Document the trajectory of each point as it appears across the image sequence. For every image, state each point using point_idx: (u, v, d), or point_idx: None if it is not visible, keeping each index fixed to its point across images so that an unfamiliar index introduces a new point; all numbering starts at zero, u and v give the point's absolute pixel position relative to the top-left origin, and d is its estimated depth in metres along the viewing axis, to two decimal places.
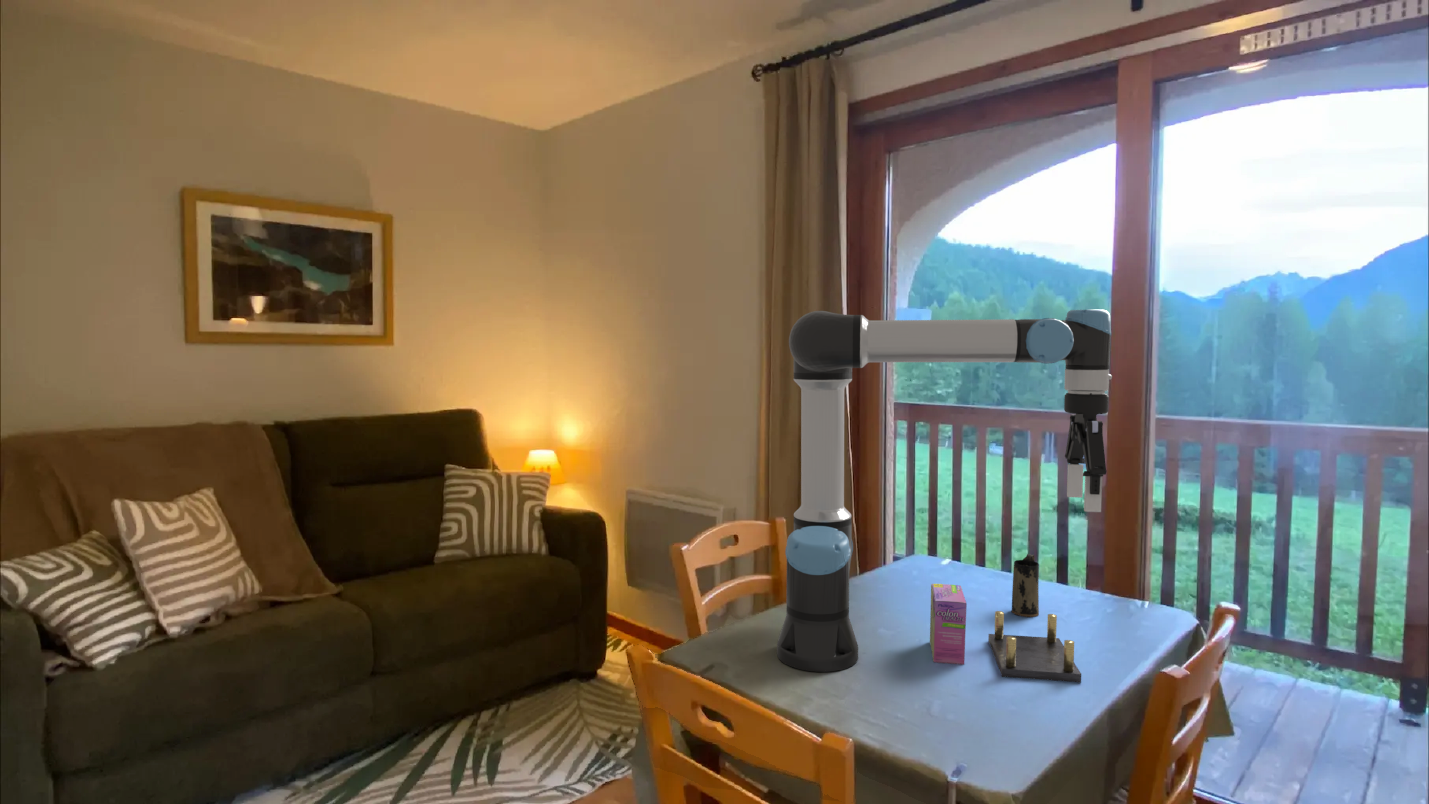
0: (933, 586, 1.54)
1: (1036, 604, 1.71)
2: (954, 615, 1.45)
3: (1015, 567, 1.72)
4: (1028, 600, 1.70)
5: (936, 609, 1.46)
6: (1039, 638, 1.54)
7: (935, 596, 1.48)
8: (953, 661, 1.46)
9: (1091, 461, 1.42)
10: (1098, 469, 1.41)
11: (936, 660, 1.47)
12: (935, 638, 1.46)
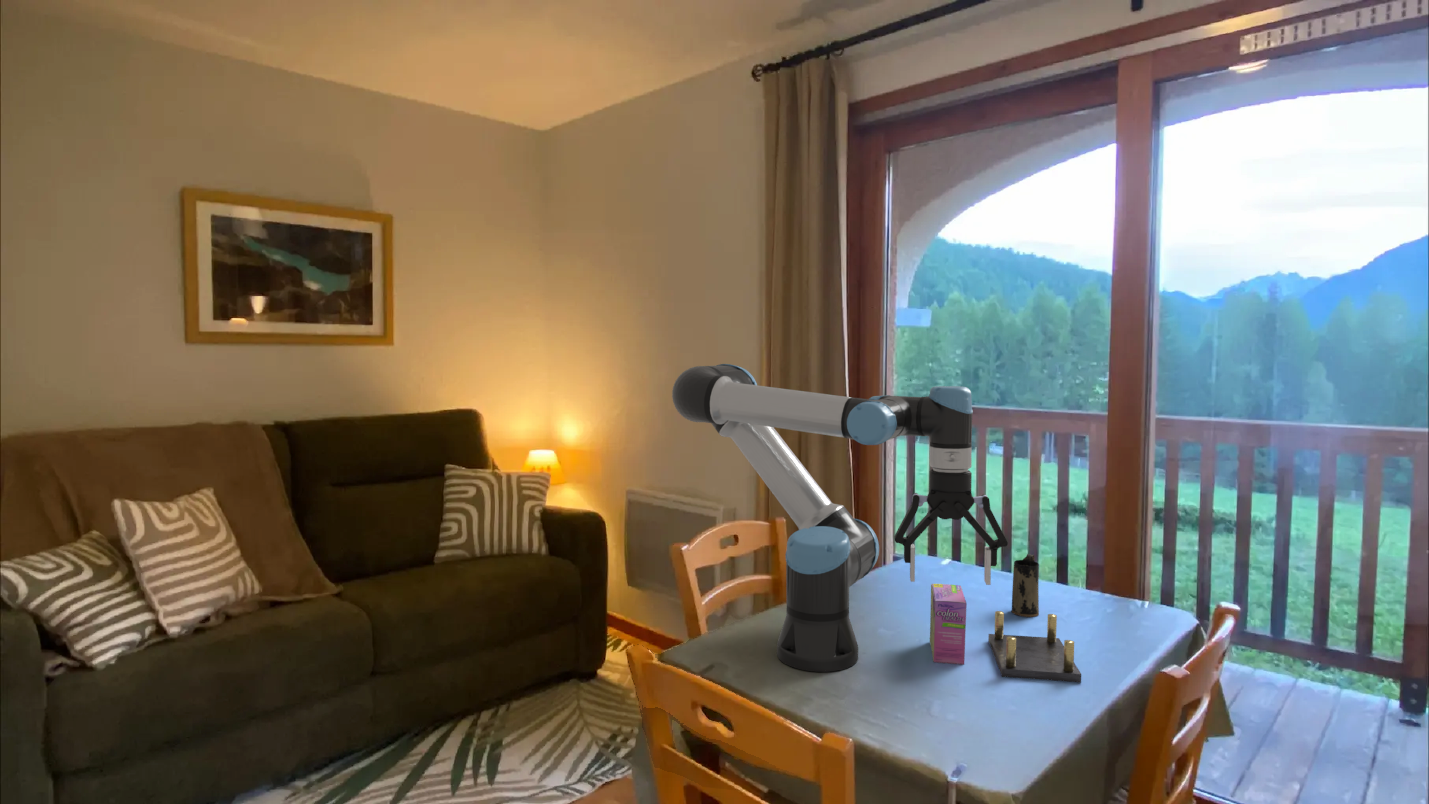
0: (933, 586, 1.54)
1: (1036, 604, 1.71)
2: (954, 615, 1.45)
3: (1015, 567, 1.72)
4: (1028, 600, 1.70)
5: (936, 609, 1.46)
6: (1039, 638, 1.54)
7: (935, 596, 1.48)
8: (953, 661, 1.46)
9: (898, 528, 1.52)
10: (895, 536, 1.52)
11: (936, 660, 1.47)
12: (935, 638, 1.46)
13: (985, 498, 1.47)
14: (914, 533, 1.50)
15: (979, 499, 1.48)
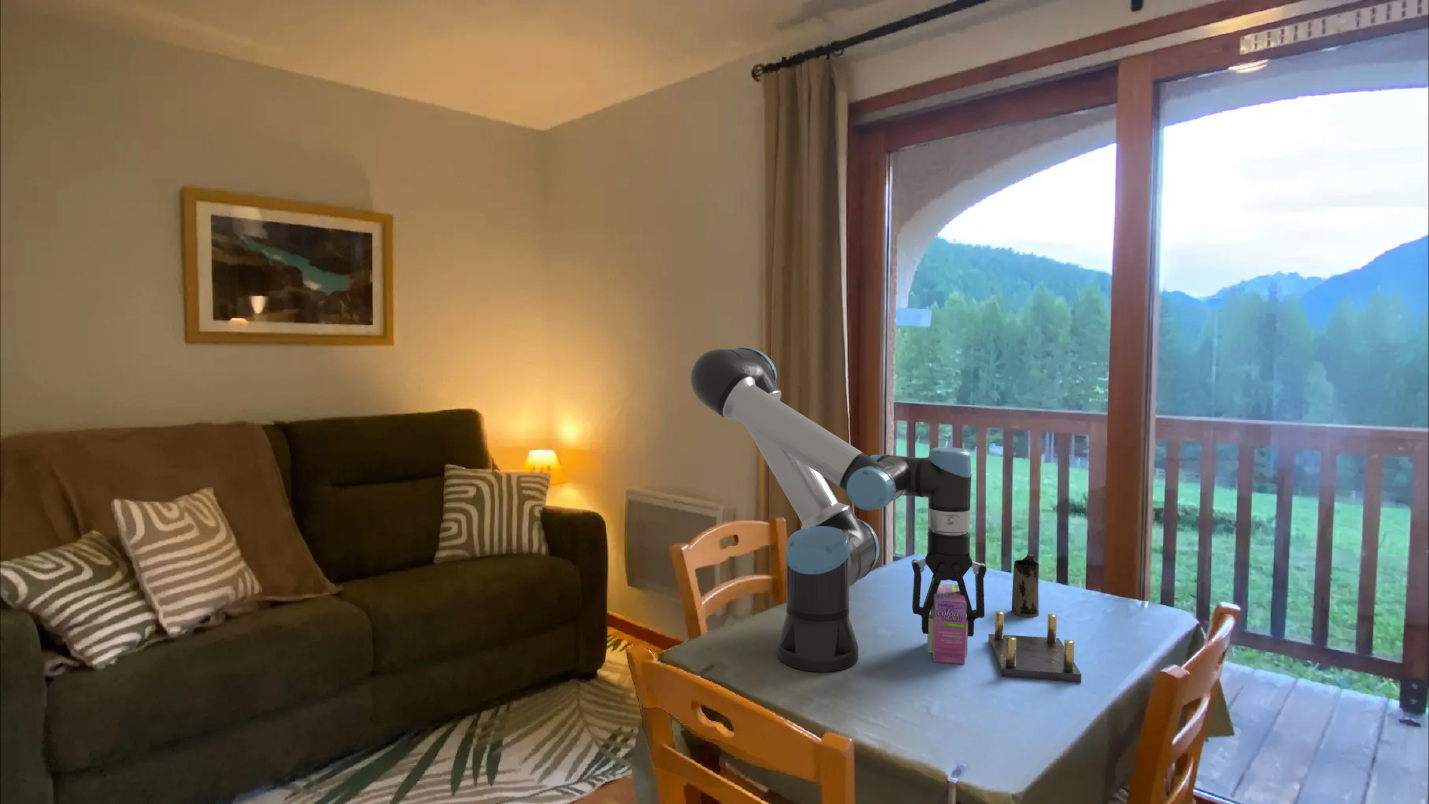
0: None
1: (1036, 604, 1.71)
2: (954, 614, 1.45)
3: (1015, 567, 1.72)
4: (1028, 600, 1.70)
5: (936, 609, 1.46)
6: (1039, 638, 1.54)
7: (935, 596, 1.48)
8: (953, 661, 1.46)
9: None
10: (913, 606, 1.52)
11: (936, 660, 1.47)
12: (935, 638, 1.46)
13: (983, 567, 1.48)
14: (927, 603, 1.50)
15: (977, 565, 1.49)
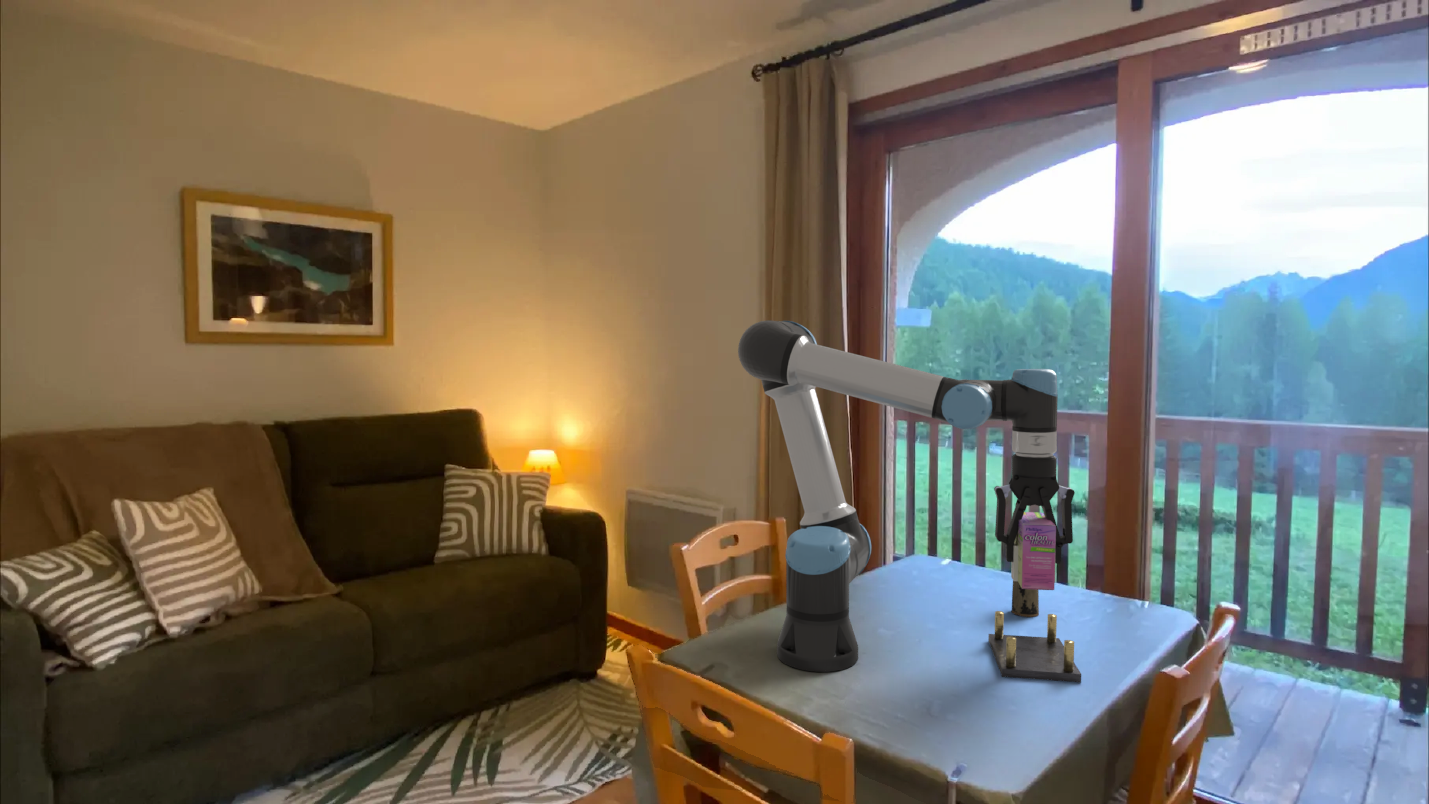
0: None
1: (1036, 604, 1.71)
2: (1043, 538, 1.40)
3: None
4: (1028, 600, 1.70)
5: (1024, 533, 1.41)
6: (1039, 638, 1.54)
7: (1021, 521, 1.43)
8: (1043, 587, 1.41)
9: None
10: (996, 534, 1.47)
11: (1024, 587, 1.42)
12: (1023, 563, 1.41)
13: (1071, 491, 1.43)
14: (1012, 529, 1.45)
15: (1064, 489, 1.44)
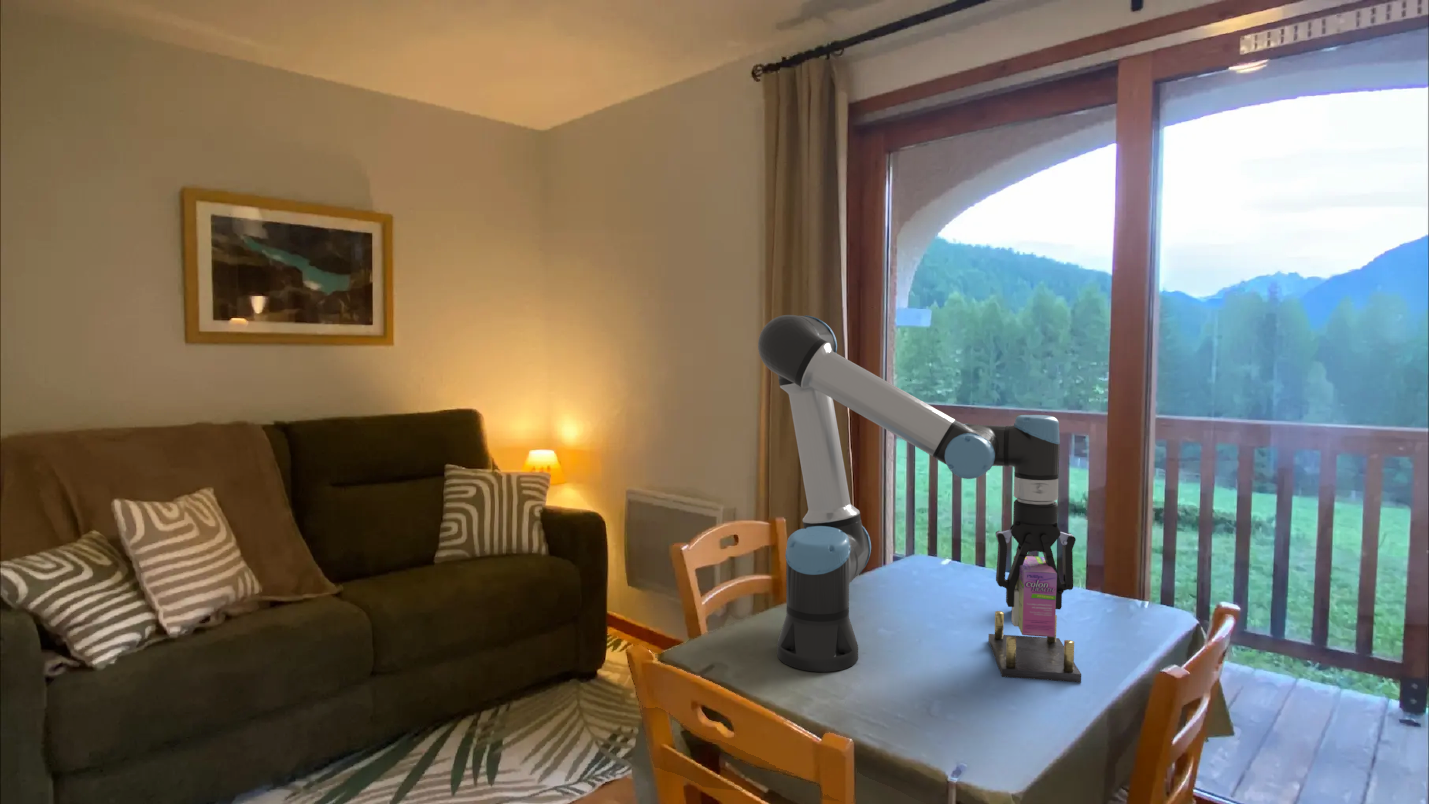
0: None
1: None
2: (1044, 585, 1.41)
3: None
4: None
5: (1025, 580, 1.42)
6: (1039, 638, 1.54)
7: (1022, 567, 1.44)
8: (1043, 634, 1.42)
9: (996, 571, 1.48)
10: (997, 579, 1.48)
11: (1025, 633, 1.42)
12: (1024, 610, 1.42)
13: (1072, 537, 1.43)
14: (1013, 575, 1.46)
15: (1065, 536, 1.44)
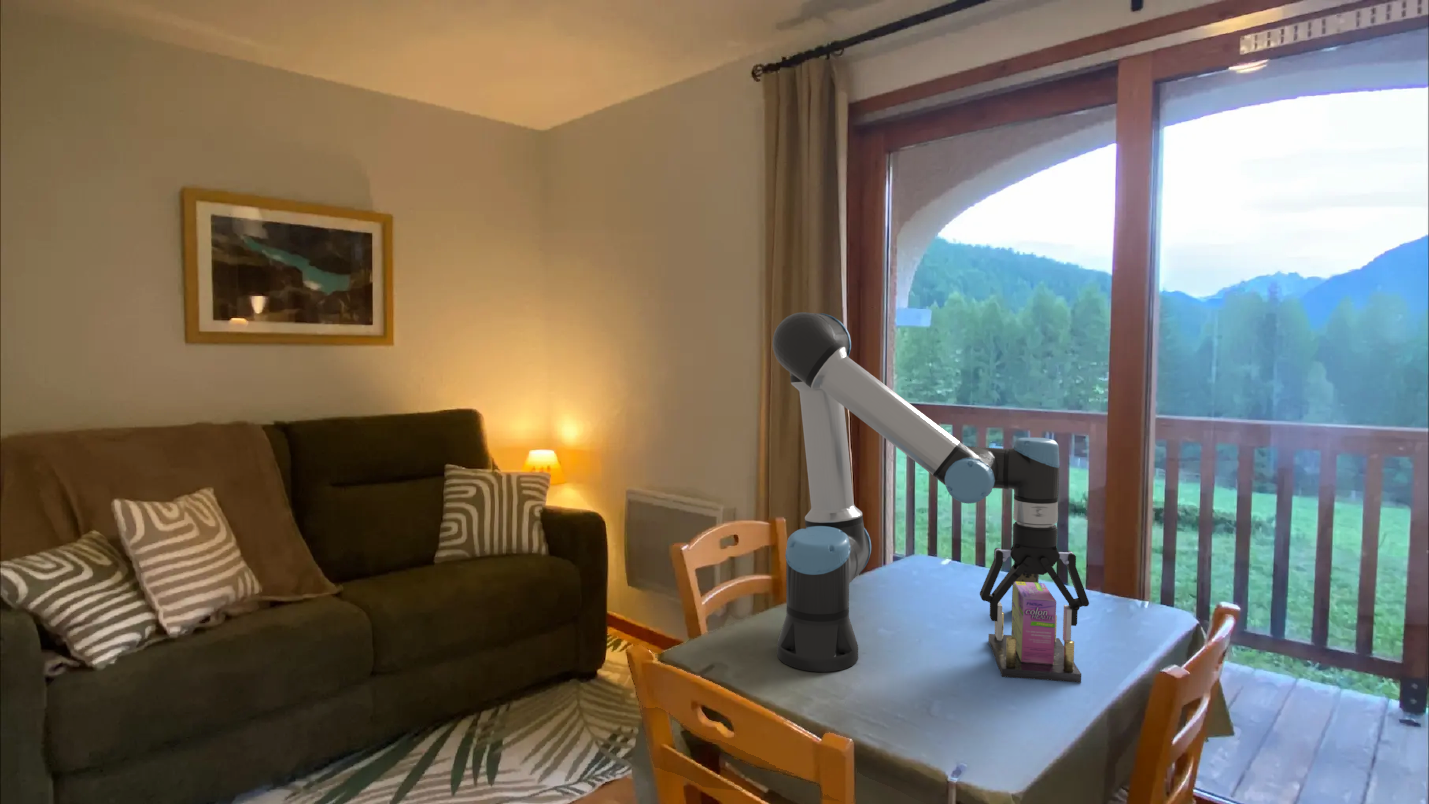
0: (1016, 584, 1.50)
1: None
2: (1043, 613, 1.41)
3: None
4: None
5: (1024, 607, 1.42)
6: None
7: (1022, 594, 1.44)
8: (1042, 661, 1.42)
9: (983, 585, 1.49)
10: (981, 593, 1.48)
11: (1024, 660, 1.43)
12: (1023, 637, 1.42)
13: (1072, 555, 1.43)
14: (1000, 590, 1.46)
15: (1065, 555, 1.45)
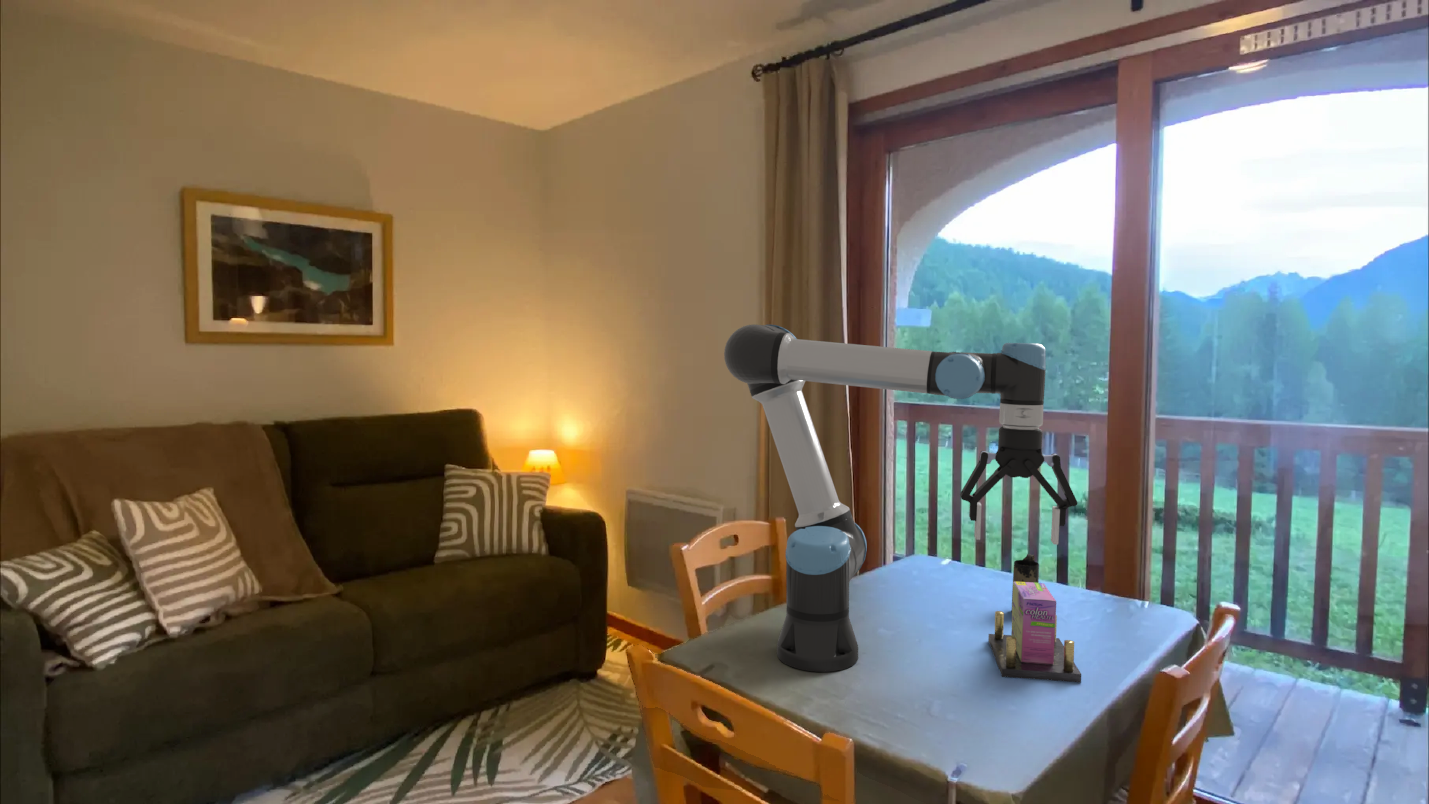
0: (1016, 584, 1.50)
1: None
2: (1043, 613, 1.41)
3: (1015, 567, 1.72)
4: None
5: (1024, 607, 1.42)
6: None
7: (1022, 594, 1.44)
8: (1042, 661, 1.42)
9: (964, 486, 1.51)
10: (961, 493, 1.50)
11: (1024, 660, 1.43)
12: (1023, 637, 1.42)
13: (1056, 456, 1.45)
14: (981, 490, 1.48)
15: (1049, 457, 1.46)
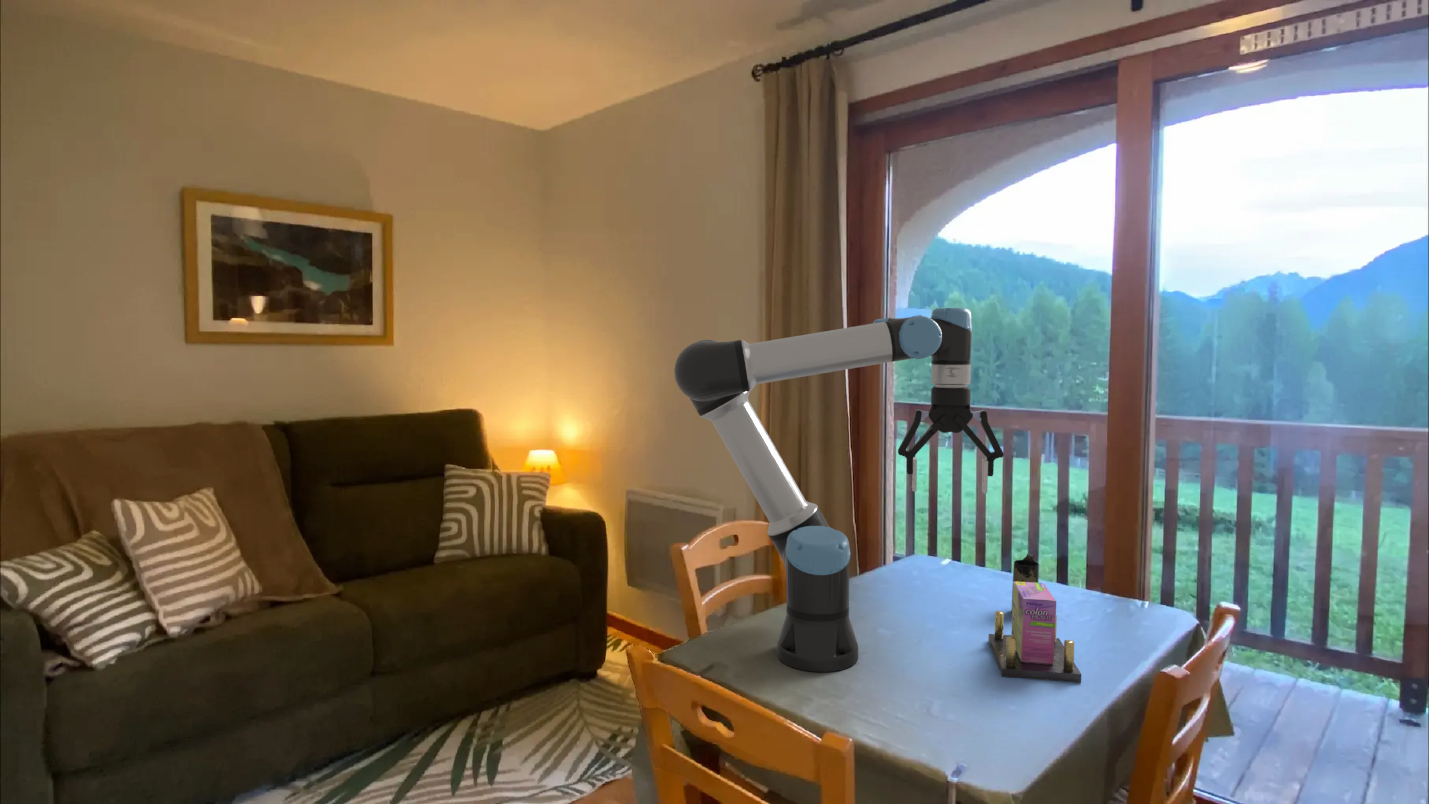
0: (1016, 584, 1.50)
1: None
2: (1043, 613, 1.41)
3: (1015, 567, 1.72)
4: None
5: (1024, 607, 1.42)
6: None
7: (1022, 594, 1.44)
8: (1042, 661, 1.42)
9: None
10: (898, 449, 1.62)
11: (1024, 660, 1.43)
12: (1023, 637, 1.42)
13: (983, 412, 1.57)
14: (916, 446, 1.60)
15: (977, 413, 1.58)
